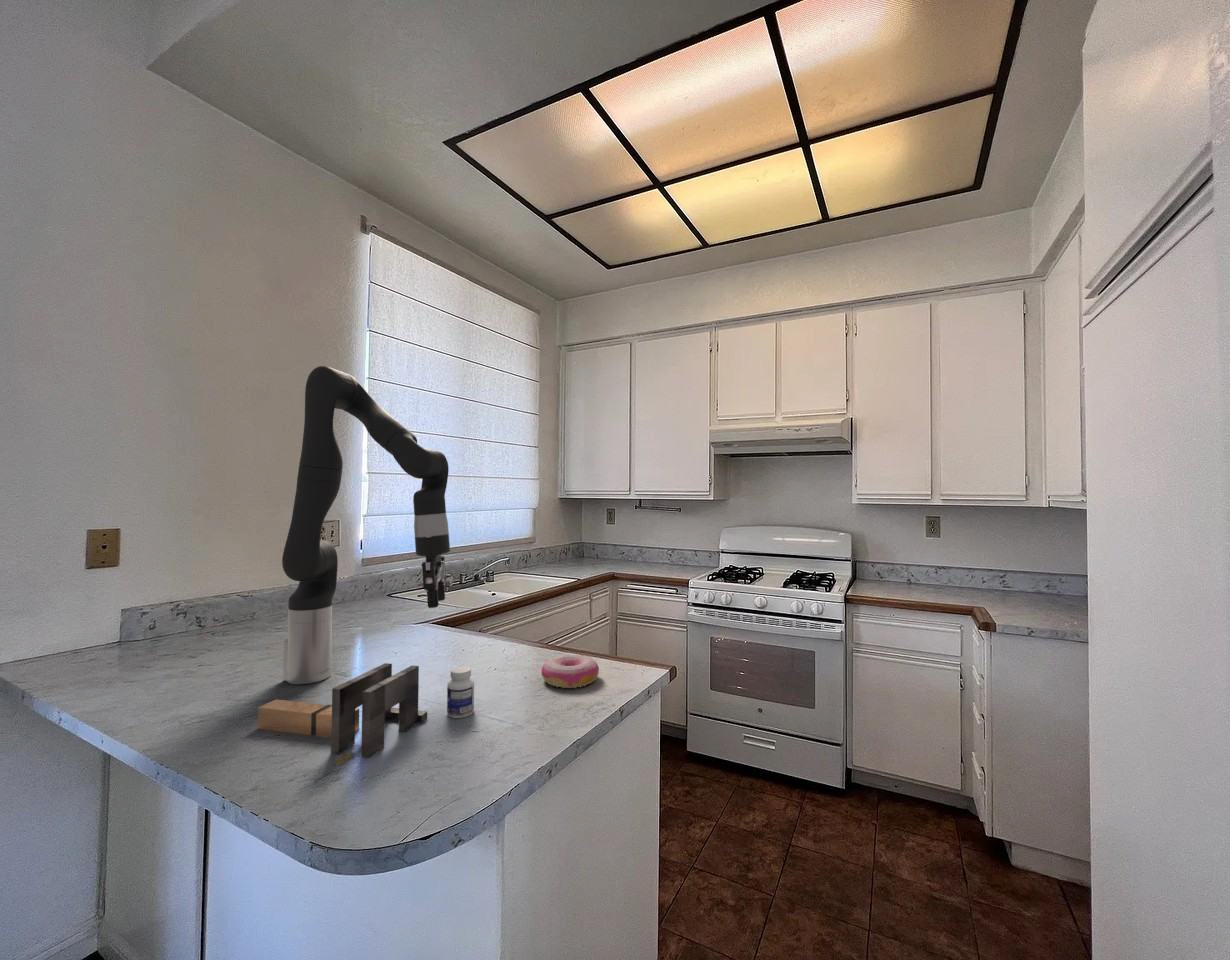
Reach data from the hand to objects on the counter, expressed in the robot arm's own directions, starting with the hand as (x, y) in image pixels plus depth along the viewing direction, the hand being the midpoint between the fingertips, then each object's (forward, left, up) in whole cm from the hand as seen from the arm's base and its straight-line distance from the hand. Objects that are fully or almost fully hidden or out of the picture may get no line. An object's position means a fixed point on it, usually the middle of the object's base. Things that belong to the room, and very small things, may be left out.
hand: (436, 603), depth 121 cm
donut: (+29, +12, -20) cm, 37 cm away
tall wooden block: (-12, -24, -19) cm, 33 cm away
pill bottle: (+13, -11, -20) cm, 26 cm away
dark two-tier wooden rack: (+3, -24, -19) cm, 31 cm away
